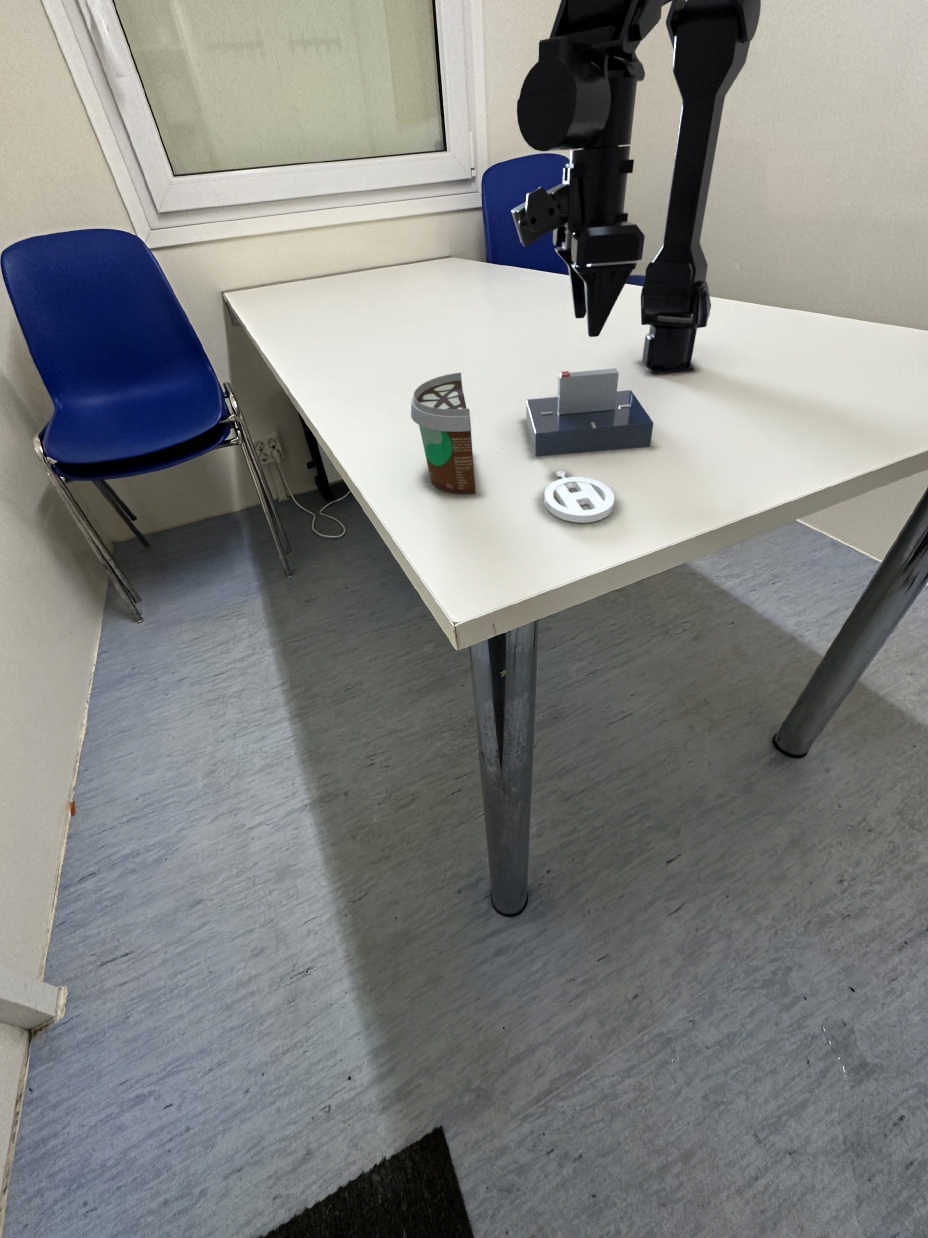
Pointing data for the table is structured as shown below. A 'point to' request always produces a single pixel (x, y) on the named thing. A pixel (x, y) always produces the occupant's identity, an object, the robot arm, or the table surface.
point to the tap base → (588, 427)
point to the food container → (445, 433)
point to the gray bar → (587, 391)
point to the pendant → (579, 499)
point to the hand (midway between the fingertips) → (586, 326)
